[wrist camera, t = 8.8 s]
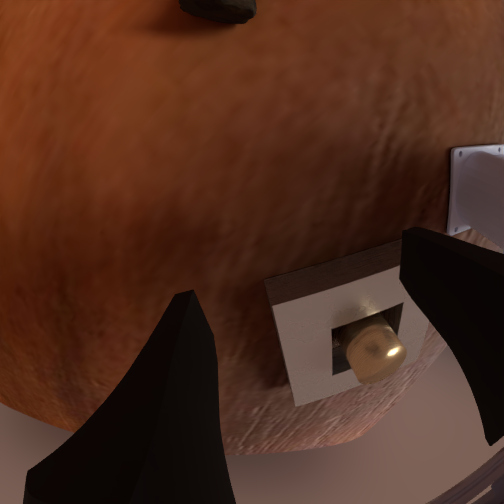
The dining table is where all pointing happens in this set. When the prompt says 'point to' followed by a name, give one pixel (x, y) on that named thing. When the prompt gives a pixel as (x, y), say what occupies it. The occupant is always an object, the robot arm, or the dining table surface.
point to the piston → (371, 348)
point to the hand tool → (221, 10)
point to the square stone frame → (339, 316)
